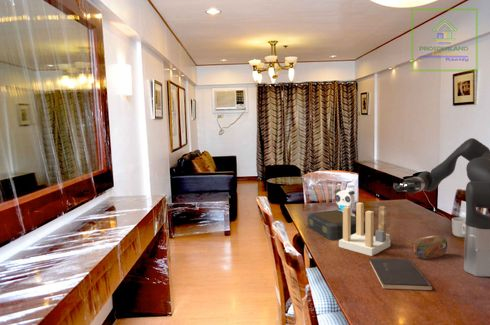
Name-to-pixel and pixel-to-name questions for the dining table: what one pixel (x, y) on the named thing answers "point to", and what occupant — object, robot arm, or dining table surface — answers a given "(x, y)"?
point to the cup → (458, 226)
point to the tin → (430, 247)
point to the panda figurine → (344, 199)
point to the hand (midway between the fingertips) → (397, 189)
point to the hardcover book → (399, 274)
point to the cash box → (330, 224)
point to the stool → (362, 233)
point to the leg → (382, 220)
